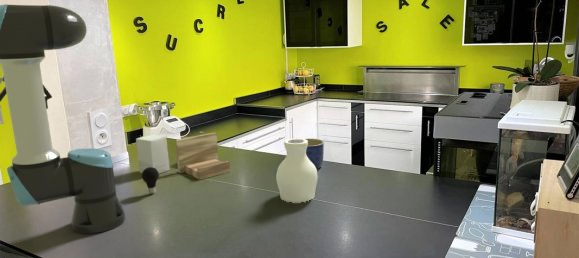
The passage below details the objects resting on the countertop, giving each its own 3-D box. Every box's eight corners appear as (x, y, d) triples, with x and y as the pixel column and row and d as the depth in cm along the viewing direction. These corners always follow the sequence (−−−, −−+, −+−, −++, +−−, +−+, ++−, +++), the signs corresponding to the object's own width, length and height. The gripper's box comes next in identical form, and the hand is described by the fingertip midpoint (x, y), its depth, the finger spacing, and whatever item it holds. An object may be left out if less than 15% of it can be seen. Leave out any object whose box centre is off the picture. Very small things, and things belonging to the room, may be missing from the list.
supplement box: (170, 170, 183) (167, 136, 180) (153, 176, 176) (150, 140, 173) (155, 167, 188) (152, 133, 185) (139, 173, 181) (135, 138, 178)
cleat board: (234, 170, 180) (232, 138, 177) (194, 180, 169) (192, 146, 166) (216, 163, 191) (214, 132, 188) (178, 172, 180) (175, 139, 177)
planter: (305, 161, 190) (304, 137, 188) (329, 165, 183) (329, 140, 181) (288, 168, 181) (288, 143, 178) (313, 173, 173) (313, 147, 171)
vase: (292, 186, 159) (290, 134, 155) (325, 194, 151) (325, 138, 147) (268, 199, 148) (266, 143, 144) (303, 207, 140) (301, 148, 136)
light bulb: (163, 193, 157) (161, 167, 154) (149, 198, 152) (146, 171, 150) (155, 189, 160) (152, 164, 158) (140, 194, 156) (137, 167, 154)
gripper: (50, 59, 164) (58, 114, 169) (-30, 64, 148) (-19, 124, 153) (55, 60, 158) (63, 117, 163) (-28, 65, 143) (-16, 127, 147)
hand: (23, 120), depth 158 cm, fingers open, 13 cm apart
